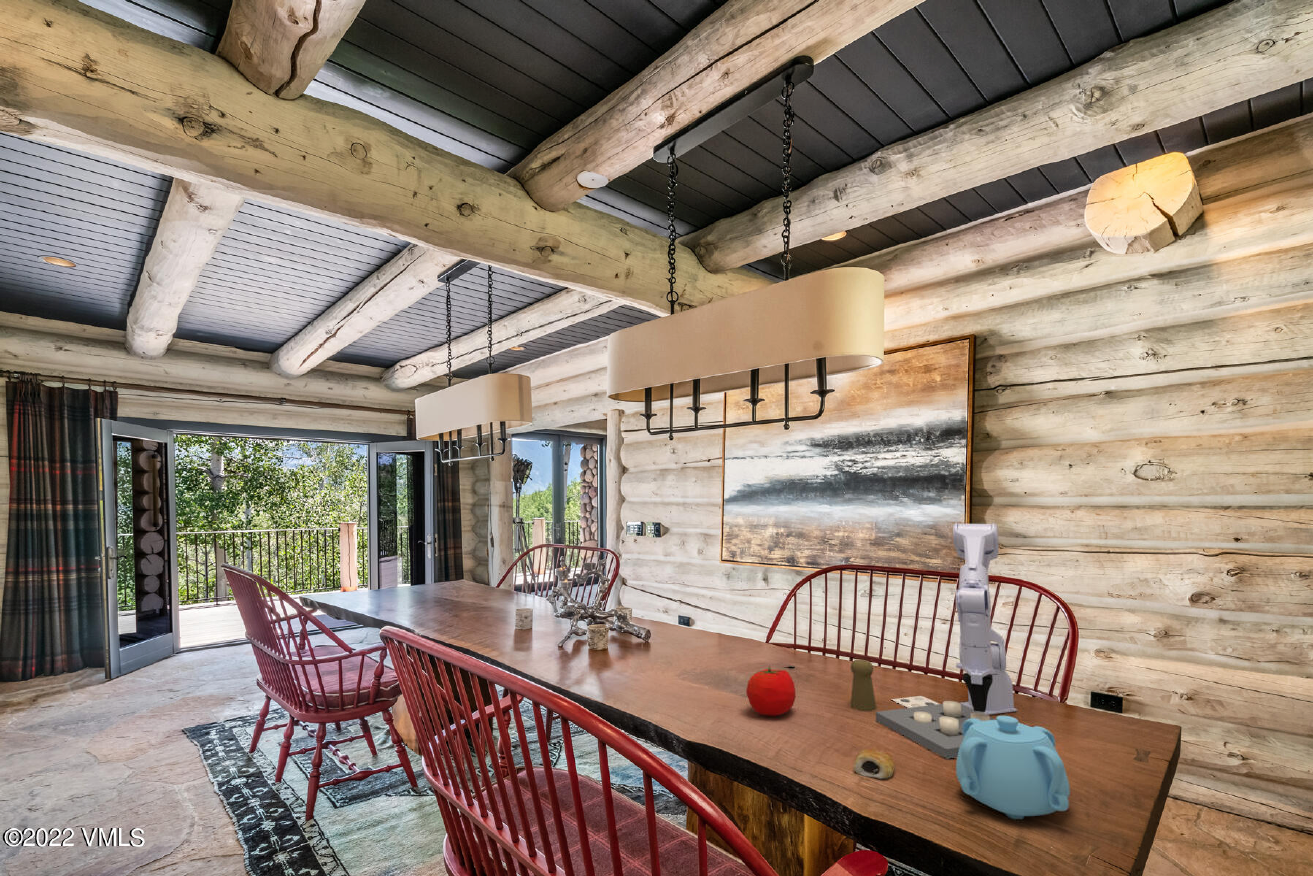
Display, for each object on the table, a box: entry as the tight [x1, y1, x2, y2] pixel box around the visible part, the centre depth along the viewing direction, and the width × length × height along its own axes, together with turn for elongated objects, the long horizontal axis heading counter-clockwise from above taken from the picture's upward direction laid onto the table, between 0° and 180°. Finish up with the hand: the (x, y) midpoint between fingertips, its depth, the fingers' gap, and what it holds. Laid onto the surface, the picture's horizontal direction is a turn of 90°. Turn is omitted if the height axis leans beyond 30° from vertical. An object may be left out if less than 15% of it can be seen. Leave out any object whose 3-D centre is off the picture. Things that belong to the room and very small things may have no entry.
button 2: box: [970, 712, 991, 721], centre depth 130 cm, size 4×4×3 cm
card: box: [890, 695, 940, 708], centre depth 151 cm, size 9×8×1 cm
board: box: [875, 703, 996, 760], centre depth 132 cm, size 22×22×2 cm
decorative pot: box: [955, 715, 1071, 820], centre depth 102 cm, size 16×16×14 cm
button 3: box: [914, 712, 932, 723], centre depth 135 cm, size 4×4×3 cm
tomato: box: [745, 665, 796, 717], centre depth 146 cm, size 11×13×10 cm
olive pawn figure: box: [850, 659, 877, 712], centre depth 149 cm, size 6×6×11 cm
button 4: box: [939, 716, 959, 737], centre depth 127 cm, size 4×4×3 cm
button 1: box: [942, 700, 962, 719], centre depth 137 cm, size 4×4×3 cm
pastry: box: [853, 747, 896, 780], centre depth 115 cm, size 9×7×4 cm
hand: (979, 710), depth 130 cm, fingers closed
